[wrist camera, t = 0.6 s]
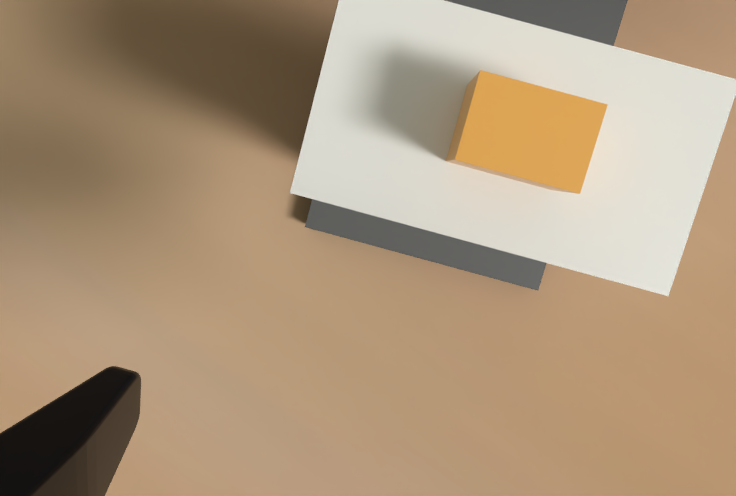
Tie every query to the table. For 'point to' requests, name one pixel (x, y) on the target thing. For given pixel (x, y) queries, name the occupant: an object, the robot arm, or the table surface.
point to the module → (513, 137)
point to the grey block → (527, 4)
